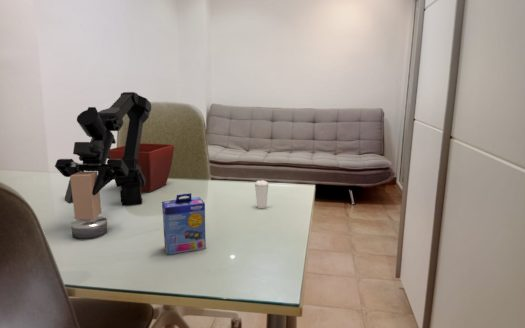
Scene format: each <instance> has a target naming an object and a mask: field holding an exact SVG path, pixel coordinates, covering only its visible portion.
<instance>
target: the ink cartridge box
mask: <svg viewBox="0 0 525 328" xmlns="http://www.w3.org/2000/svg"><path fill="white" fill-rule="evenodd" d="M182 197H183V198H182ZM161 208H162V210H161V211H162V221H163V222H162V223H163V225H162V227H163V238H164V239H163V240H164V249H165V252H166V255H167V256H170V255H174V254H181V253H187V252H193V251H199V250H205V249H206V248H207V243H206V242H207V241H206V202H205V201H203V200H202V198H201V197H200V196H199V197H192V192H188V193H181V194H176V198H175V199H172V200H171V199H170V200H163V201H161Z"/></svg>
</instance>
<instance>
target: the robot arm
mask: <svg viewBox="0 0 525 328" xmlns="http://www.w3.org/2000/svg"><path fill="white" fill-rule="evenodd" d="M151 111H152V103H151V102H150V101H149V99H148V98H146V97H144V96H143V95H142V96H141V95H139V94H138V93H137V92H134V91H123V92H121V93H120V95H119V97H118V98H117V100H115V101H114V102H113V103H112V105H111V106H109V107H108V108H105V109H101V110H97V107H96V106H88V107H87V109H86V110H83V111H82V112H81V113H79V114H78V115H77V117H76V122H77V123H78V124H79V127H80V128H81V129H82V131H84V133H85V134H86V136H88V137H89V138H90V142H89V141H75V142H74V144H73V151H72V154H73V155H76V156H77V157H78V159H79V161H80V162H82V163H78V162H75V160H74V159H73V158H58V159H57V160H56V161H55V165H54V167H55V168H56V169H57V171H59V173H60V174H61V175H62V176H63V177H66V178H70V176H71V175H73V174H75V173H78V172H82V171H84V172H97V175H98V176H97V179H96V182H95V185H94V187H93V191H92V194H93V195H96V194H97V193H98V192H99V193H100V191H101V190H102V189H103V188H104V187H105V186H107V185H108V184H109V183H111V182H112V181H113V180H114V182H115V187H117V188H121V189H120V191H119V197H120V199H119V200H120V203H121V206H130V205H131V206H134V205H142V203H143V196H142V192H141V186H145V177H144V175H143V173H142V172H141V166H140V164H139V162H138V153H139V147H140V143H141V140H142V135H143V134H142V133H143V128H144V127H143V126H144V123H145V122H146V121H147V120H148V119H149V117H150V113H151ZM125 116H127V117H128V120H129V121H128V127H127V131H126V139H125V144H124V146H125V149H124V155H123V158H122V159H110V154H109V151H110V149H112V148H111V147H112V145H115V144H116V143H117V141H116V139H115V135H114V134H113V132H119V131H120V130H121V129H122V126H124V119H123V118H124V117H125Z"/></svg>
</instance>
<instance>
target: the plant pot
mask: <svg viewBox="0 0 525 328" xmlns="http://www.w3.org/2000/svg"><path fill="white" fill-rule="evenodd" d="M124 149H125V145H122V146H117V147H113V148H110V151H109V154H110V159H122V158H123V155H124ZM174 149H175V145H174V144H170V143H169V144H168V143H167V144H166V143H145V142H140V147H139V153H138V162H139V164H140V166H141V172H142V173H143V175H144V177H145V186H141V193H151V192H153V191H156V190H158V189H159V188H162V187H164V186H166V185H167V183H168V182H167V181H168V179H169V176H170V172H171V167H172V163H173V159H174V158H173V157H174V152H175V151H174Z"/></svg>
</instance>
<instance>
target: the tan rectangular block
mask: <svg viewBox="0 0 525 328" xmlns="http://www.w3.org/2000/svg"><path fill="white" fill-rule="evenodd" d="M97 176H98V171H84V172H78V173H75V174H73V175H71V176H70V177H69V180H70V181H71V189H72V197H73V203H72V204H73V205H72V206H73V212H74V221H75V220H78V219H95V218H96V217H97V216H100V215H101V214H102V205H101V197H100V196H101V195H100V191H99V192H98V193H97V194H96V195H93V194H92V191H93V187H94V185H95V182H96V179H97Z"/></svg>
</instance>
